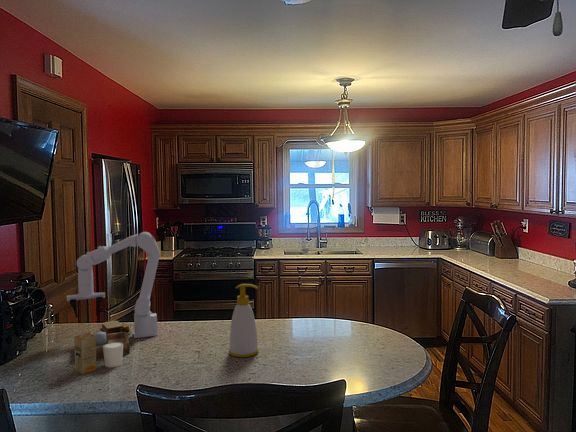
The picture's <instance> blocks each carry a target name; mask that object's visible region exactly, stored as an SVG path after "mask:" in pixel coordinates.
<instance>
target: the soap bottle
mask: <svg viewBox="0 0 576 432" xmlns="http://www.w3.org/2000/svg"><path fill="white" fill-rule="evenodd" d="M246 287H247V288H248V287H250V288H254V289H255V290H258V289H259V287H258V286H257V285H256V284H253V283H240V284H238V285H237V286H235V289H239V295H237V297H236V298H237V299H236V305H235V307H234V309H233V312H232V317H231V323H230V324H231V325H230V330H229V331H230V333H229V350H228V354H229V355H230V356H232V357H236V358H249V357H252V356H255V355H257V354H258V353H259V348H258V334H257V325H256V319H255V315H254V311H253V309H252V305H250V300H249V295H247V294H246Z"/></svg>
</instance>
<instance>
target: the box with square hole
mask: <svg viewBox="0 0 576 432" xmlns="http://www.w3.org/2000/svg"><path fill="white" fill-rule="evenodd" d="M113 342H120V343H123V356H124V355H130V353H131V351H130V340H129V335H127V332H120V333H111V334H106V344H108V343H113ZM103 346H104V345H101V346H96V359H101V358H104V353H103Z"/></svg>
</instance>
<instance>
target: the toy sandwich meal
mask: <svg viewBox="0 0 576 432" xmlns="http://www.w3.org/2000/svg"><path fill="white" fill-rule="evenodd" d="M99 332H106V334H111V333H120V332H127V335H128V336H129V335H130V334H131V333H132V329H130V326H129V325H127V324H126V323H124V322H121V323H120V321H119V320H111V321H105V322H102V323H101V327H100V329H99Z"/></svg>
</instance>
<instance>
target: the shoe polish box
mask: <svg viewBox="0 0 576 432" xmlns="http://www.w3.org/2000/svg"><path fill="white" fill-rule="evenodd" d="M73 338H74V340H73V341H74V343H73V344H74V369H75V372H77V373H79V374H81V375H84V374H88V373H91V372H94V371H97V358H96V341H95V334H91V333H89V332H87V333H83V334H78V335H75V336H73Z"/></svg>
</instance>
